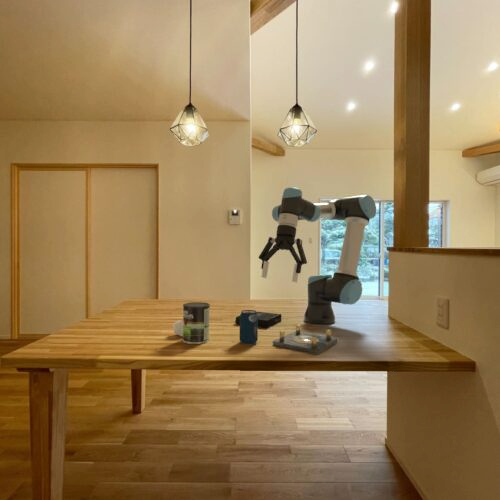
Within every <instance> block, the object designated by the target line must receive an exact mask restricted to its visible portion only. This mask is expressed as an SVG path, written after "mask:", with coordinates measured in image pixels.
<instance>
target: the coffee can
mask: <svg viewBox="0 0 500 500" xmlns="http://www.w3.org/2000/svg"><path fill="white" fill-rule="evenodd" d="M182 307H183V311H182V312H183V314H182V315H183V319H182V320H183V336H182V342H183V344H184V343H185V344H189V345H201V344H205V343H208V342H210V307H211V304H210V303H207V302H201V301H200V302H195V301H193V302H186V303H184V304H182Z"/></svg>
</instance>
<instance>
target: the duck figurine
mask: <svg viewBox="0 0 500 500" xmlns="http://www.w3.org/2000/svg"><path fill="white" fill-rule="evenodd" d="M181 313H182V315H183V311H181ZM172 328H173V333H174V334H175V335H177V336H180V337H183V319H181V320H178V321H175V322H174V323H173V326H172Z"/></svg>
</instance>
